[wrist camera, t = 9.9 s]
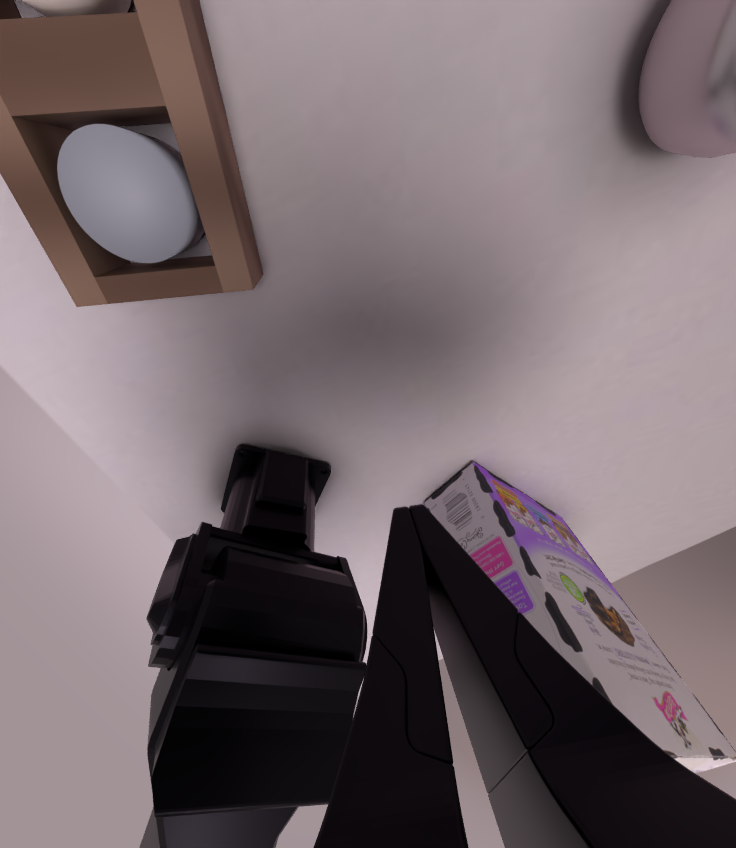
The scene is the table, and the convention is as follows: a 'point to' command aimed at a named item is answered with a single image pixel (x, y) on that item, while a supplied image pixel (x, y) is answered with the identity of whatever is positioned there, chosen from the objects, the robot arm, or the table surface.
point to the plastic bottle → (692, 79)
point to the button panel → (119, 106)
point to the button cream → (78, 7)
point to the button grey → (129, 193)
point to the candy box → (577, 611)
